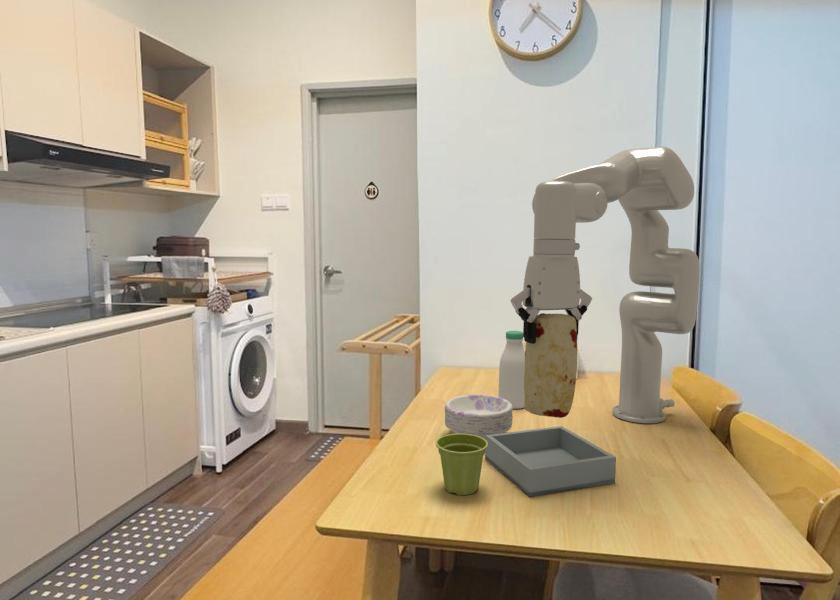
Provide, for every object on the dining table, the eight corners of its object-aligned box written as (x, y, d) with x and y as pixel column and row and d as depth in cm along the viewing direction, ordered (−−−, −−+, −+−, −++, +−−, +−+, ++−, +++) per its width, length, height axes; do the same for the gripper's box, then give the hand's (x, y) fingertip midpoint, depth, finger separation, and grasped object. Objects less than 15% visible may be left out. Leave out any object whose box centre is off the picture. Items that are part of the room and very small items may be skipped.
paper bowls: (435, 444, 126) (435, 409, 125) (455, 422, 140) (455, 391, 139) (504, 453, 121) (505, 417, 120) (517, 430, 135) (518, 397, 134)
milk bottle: (529, 409, 151) (531, 334, 148) (500, 409, 151) (501, 334, 148) (524, 401, 158) (526, 329, 156) (496, 401, 158) (498, 329, 156)
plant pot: (444, 503, 98) (445, 454, 97) (428, 480, 107) (429, 435, 106) (495, 496, 101) (496, 449, 100) (475, 475, 110) (476, 431, 109)
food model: (521, 418, 109) (525, 313, 107) (524, 408, 115) (527, 309, 113) (575, 422, 107) (579, 316, 104) (574, 412, 113) (578, 311, 111)
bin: (561, 448, 124) (561, 426, 123) (615, 483, 107) (616, 457, 106) (484, 458, 118) (485, 435, 117) (529, 497, 101) (530, 469, 100)
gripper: (581, 248, 114) (578, 335, 116) (502, 248, 108) (500, 340, 110) (605, 249, 107) (601, 342, 109) (522, 249, 101) (519, 347, 103)
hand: (550, 340), depth 109 cm, fingers closed on food model, 8 cm apart
